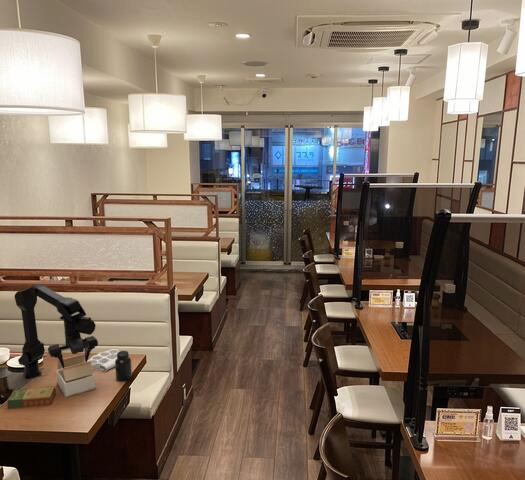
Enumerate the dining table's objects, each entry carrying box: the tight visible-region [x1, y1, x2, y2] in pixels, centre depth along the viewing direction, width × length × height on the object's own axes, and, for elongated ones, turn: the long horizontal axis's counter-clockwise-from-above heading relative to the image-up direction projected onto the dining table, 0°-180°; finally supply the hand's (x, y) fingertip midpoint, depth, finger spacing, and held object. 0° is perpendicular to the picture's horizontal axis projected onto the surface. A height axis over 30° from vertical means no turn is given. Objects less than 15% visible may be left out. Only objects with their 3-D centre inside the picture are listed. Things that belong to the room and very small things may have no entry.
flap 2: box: [62, 361, 94, 381], centre depth 195 cm, size 5×11×1 cm
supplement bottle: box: [114, 350, 133, 382], centre depth 207 cm, size 7×7×12 cm
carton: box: [6, 385, 57, 410], centre depth 189 cm, size 8×16×4 cm, turn 100°
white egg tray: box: [84, 348, 120, 372], centre depth 222 cm, size 3×18×15 cm
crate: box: [55, 368, 96, 398], centre depth 200 cm, size 14×12×6 cm
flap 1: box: [56, 353, 85, 370], centre depth 203 cm, size 5×11×1 cm
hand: (75, 365), depth 198 cm, fingers open, 9 cm apart
